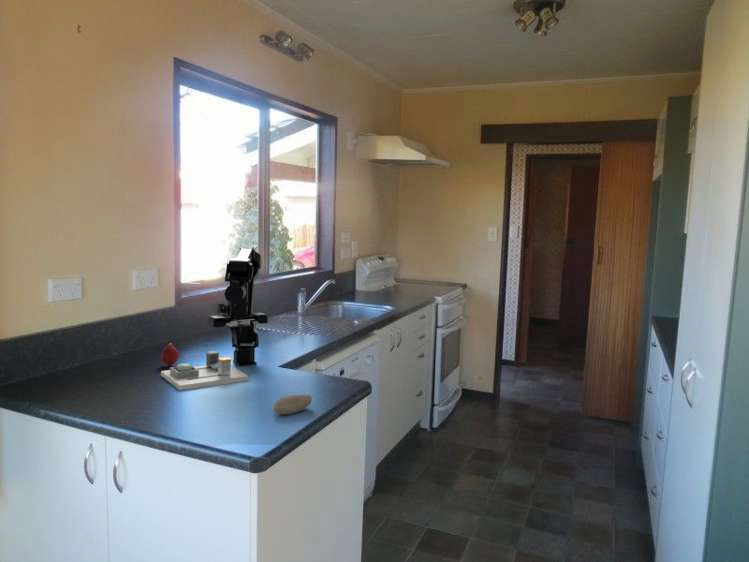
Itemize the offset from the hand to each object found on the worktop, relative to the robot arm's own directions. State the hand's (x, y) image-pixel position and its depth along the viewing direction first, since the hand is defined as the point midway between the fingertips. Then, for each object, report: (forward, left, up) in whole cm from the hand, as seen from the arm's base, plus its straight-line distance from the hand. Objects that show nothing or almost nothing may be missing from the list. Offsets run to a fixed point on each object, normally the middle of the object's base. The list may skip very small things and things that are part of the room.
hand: (237, 345), depth 186 cm
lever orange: (+5, 0, -9) cm, 10 cm away
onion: (+15, -23, -11) cm, 29 cm away
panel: (+10, -4, -11) cm, 15 cm away
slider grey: (+5, -10, -9) cm, 14 cm away
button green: (+16, -5, -7) cm, 18 cm away
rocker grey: (+4, -6, -8) cm, 10 cm away
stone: (+1, +38, -11) cm, 40 cm away
